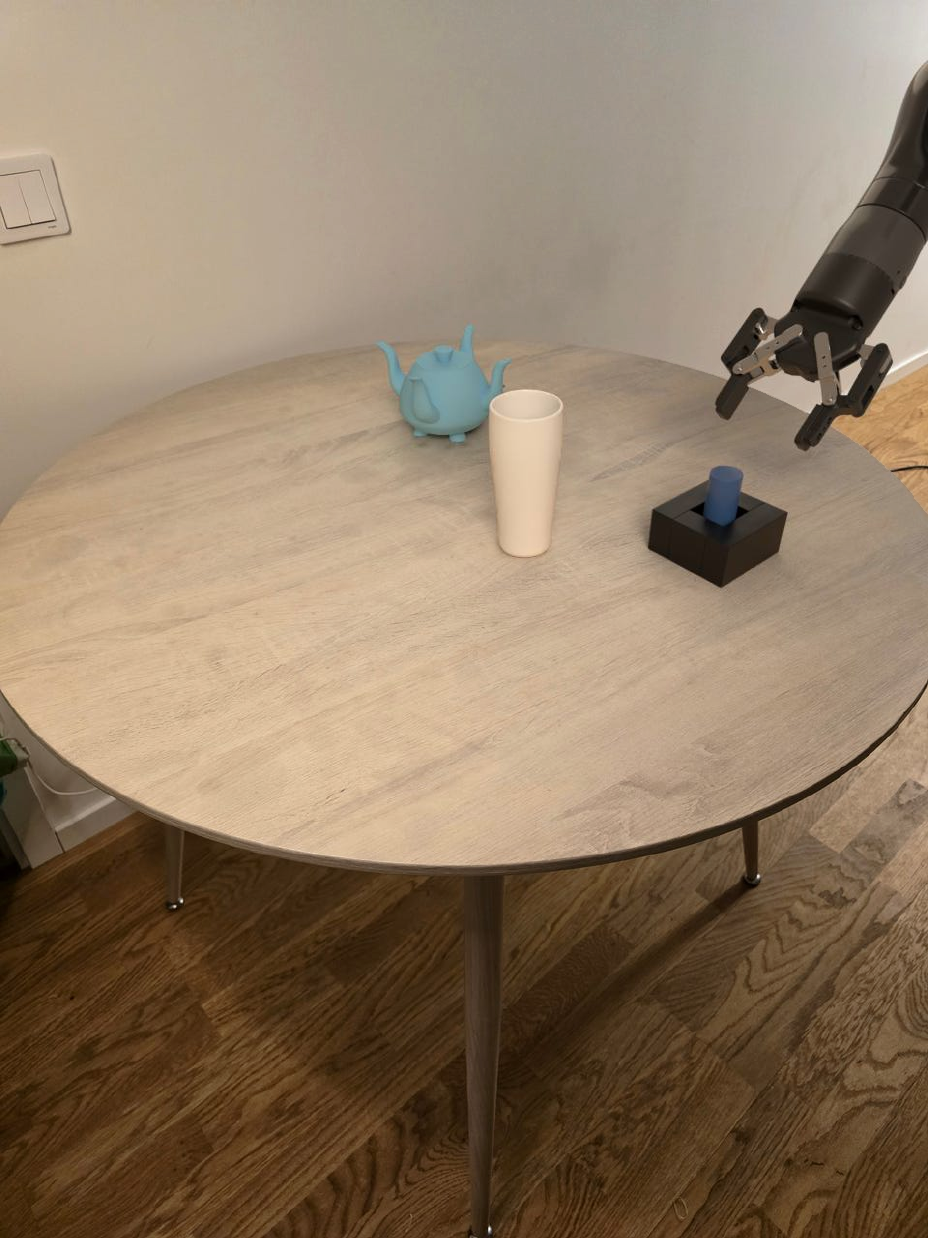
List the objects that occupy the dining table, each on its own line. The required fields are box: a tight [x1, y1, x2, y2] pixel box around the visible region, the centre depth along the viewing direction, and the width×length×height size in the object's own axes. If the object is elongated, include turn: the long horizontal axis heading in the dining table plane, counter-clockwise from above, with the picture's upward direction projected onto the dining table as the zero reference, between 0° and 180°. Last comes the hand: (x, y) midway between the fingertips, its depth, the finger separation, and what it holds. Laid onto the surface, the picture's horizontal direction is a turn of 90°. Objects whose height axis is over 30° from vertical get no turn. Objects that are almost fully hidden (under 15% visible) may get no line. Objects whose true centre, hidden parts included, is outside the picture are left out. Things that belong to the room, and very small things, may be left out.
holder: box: [647, 479, 789, 589], centre depth 83 cm, size 9×9×4 cm
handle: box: [703, 465, 744, 527], centre depth 82 cm, size 3×3×8 cm
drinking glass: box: [488, 389, 565, 558], centre depth 81 cm, size 7×7×15 cm
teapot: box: [375, 324, 514, 443], centre depth 104 cm, size 13×13×10 cm
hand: (759, 430), depth 79 cm, fingers open, 8 cm apart
